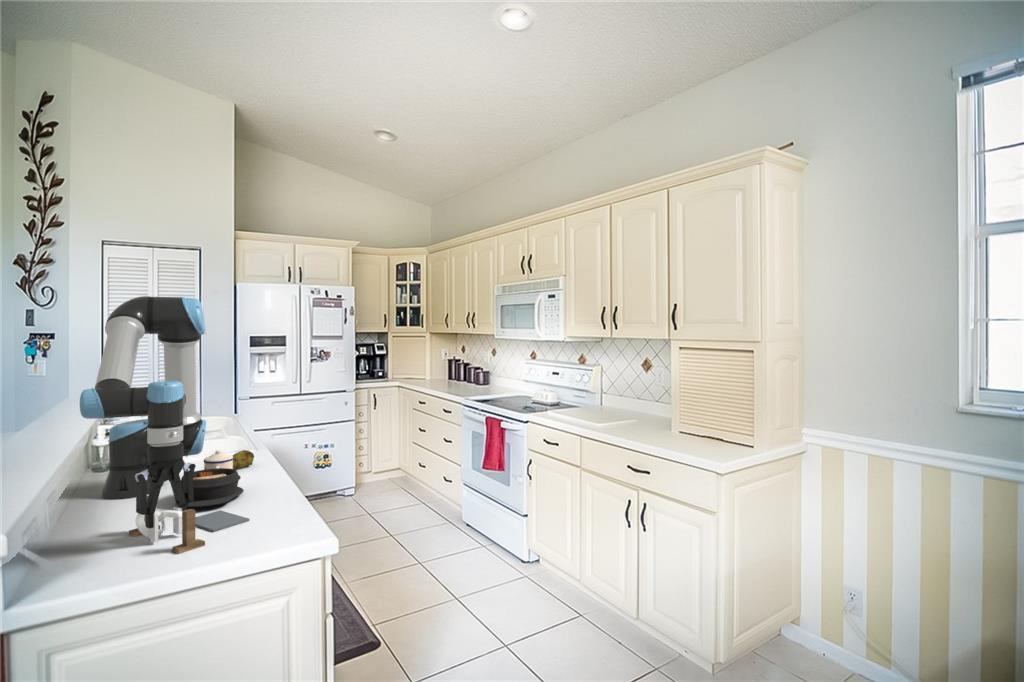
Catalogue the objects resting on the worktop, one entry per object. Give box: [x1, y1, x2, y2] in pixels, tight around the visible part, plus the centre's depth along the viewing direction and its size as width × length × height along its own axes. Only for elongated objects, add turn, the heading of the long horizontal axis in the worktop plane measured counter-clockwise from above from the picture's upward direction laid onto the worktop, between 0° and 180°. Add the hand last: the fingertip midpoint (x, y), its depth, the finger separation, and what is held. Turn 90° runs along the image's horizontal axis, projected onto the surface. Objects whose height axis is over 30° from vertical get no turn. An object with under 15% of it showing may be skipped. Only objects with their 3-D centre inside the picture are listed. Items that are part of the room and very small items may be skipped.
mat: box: [195, 509, 250, 533], centre depth 145 cm, size 14×10×1 cm
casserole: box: [180, 468, 245, 508], centre depth 165 cm, size 25×19×8 cm
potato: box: [232, 449, 255, 471], centre depth 198 cm, size 8×13×8 cm, turn 117°
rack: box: [128, 495, 206, 555], centre depth 132 cm, size 24×6×9 cm, turn 59°
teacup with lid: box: [203, 449, 234, 470], centre depth 182 cm, size 12×9×12 cm
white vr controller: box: [135, 509, 182, 538], centre depth 133 cm, size 8×12×7 cm, turn 70°
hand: (165, 536), depth 132 cm, fingers open, 5 cm apart
